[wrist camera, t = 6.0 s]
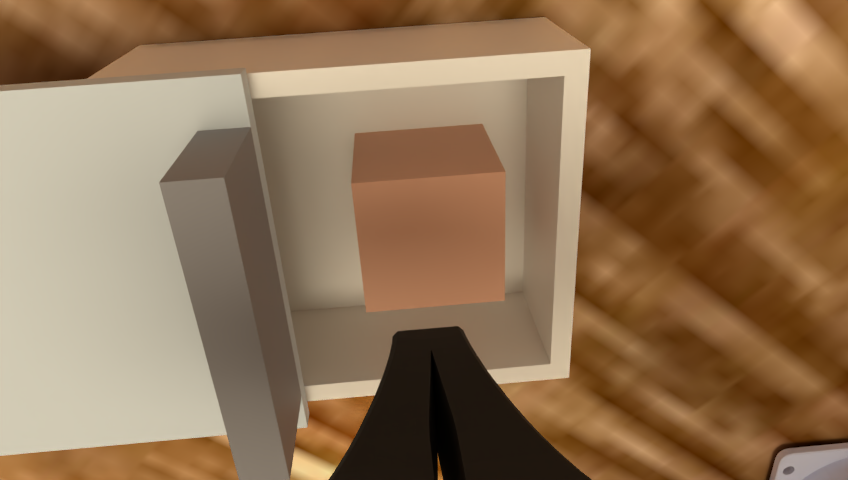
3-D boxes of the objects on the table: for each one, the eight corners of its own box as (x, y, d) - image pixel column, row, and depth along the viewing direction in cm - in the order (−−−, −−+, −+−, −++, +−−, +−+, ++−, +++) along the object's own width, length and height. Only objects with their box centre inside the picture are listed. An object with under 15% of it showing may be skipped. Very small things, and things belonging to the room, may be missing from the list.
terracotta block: (482, 123, 20) (505, 171, 17) (483, 236, 22) (504, 300, 19) (354, 133, 20) (351, 183, 17) (367, 245, 22) (365, 312, 18)
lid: (245, 67, 15) (210, 114, 11) (309, 412, 20) (297, 513, 16) (-324, 108, 14) (-524, 169, 11) (-112, 451, 19) (-208, 561, 16)
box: (544, 16, 19) (590, 48, 15) (535, 296, 24) (568, 377, 20) (139, 45, 19) (76, 85, 15) (211, 324, 24) (178, 413, 20)
